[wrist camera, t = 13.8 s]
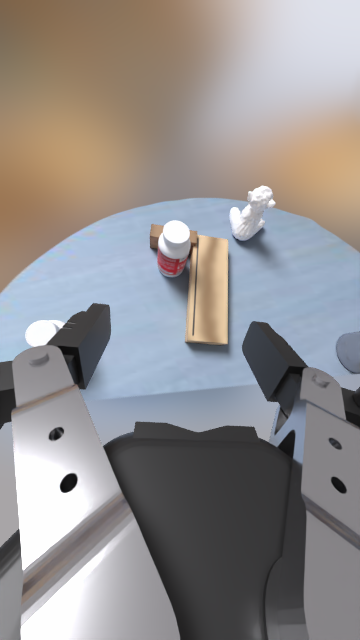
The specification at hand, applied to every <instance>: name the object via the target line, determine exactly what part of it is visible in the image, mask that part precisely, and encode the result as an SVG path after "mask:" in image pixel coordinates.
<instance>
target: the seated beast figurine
mask: <svg viewBox="0 0 360 640" xmlns="http://www.w3.org/2000/svg"><path fill="white" fill-rule="evenodd" d="M247 199H248V200H249V205H248V206H246V207H245V209H243V211H242V214H241V215H240V211H239V209H238V208H237V207H233V208H232V209H231V211H230V216H229V218H230V224H231V228H232V234H233V235H234V237H235V238H236V239H239V240H240V241H242V240H243V241H246V240H248V239H250V238H251V237H252V236H253V235H254V234H255V233H257V232H258V231H259V230H260V229H261V228H262V227H263V226H264V224H265V221H263V219H261V218H262V216H263V212H264V210H265V209H267V208H272V207H273V206H274V205H275V201H274V200H272V199H273V194H272V190H271V189H270V188H269V187H267V186H265V187H264V186H261V187H260V188H256V189H254V190H253V192H252V191H249V192H248V198H247Z"/></svg>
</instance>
